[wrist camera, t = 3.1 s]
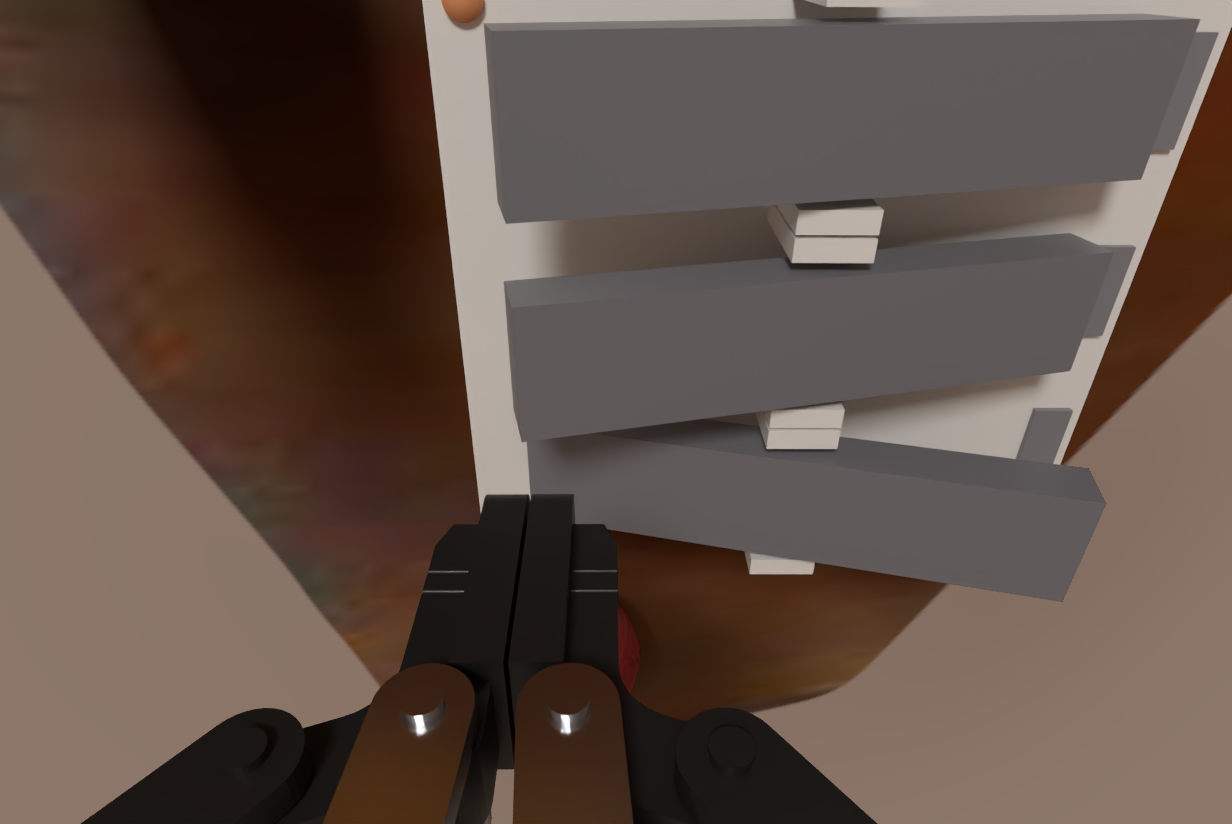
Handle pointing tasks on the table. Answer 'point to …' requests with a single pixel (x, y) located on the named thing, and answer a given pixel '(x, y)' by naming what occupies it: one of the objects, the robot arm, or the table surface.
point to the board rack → (790, 237)
